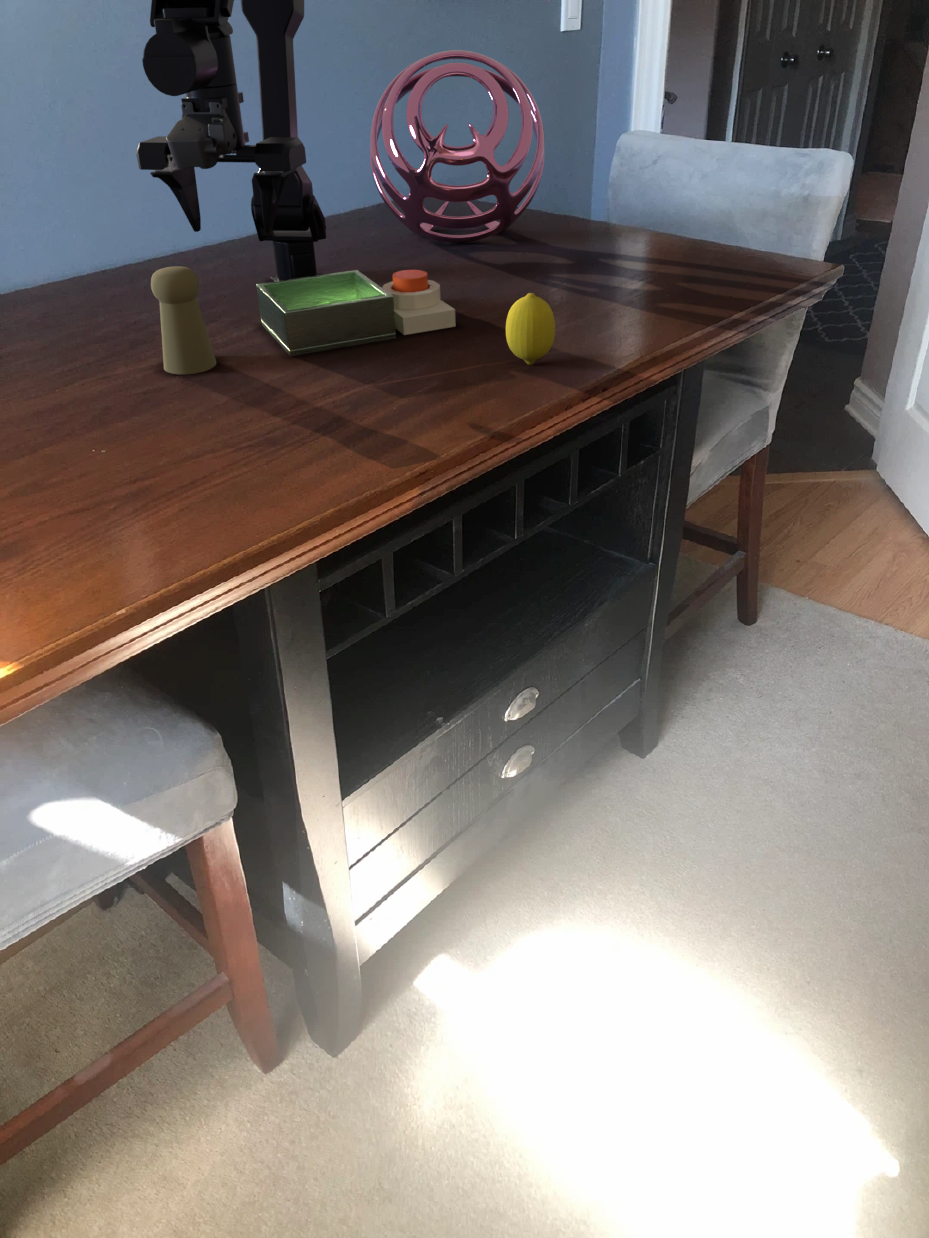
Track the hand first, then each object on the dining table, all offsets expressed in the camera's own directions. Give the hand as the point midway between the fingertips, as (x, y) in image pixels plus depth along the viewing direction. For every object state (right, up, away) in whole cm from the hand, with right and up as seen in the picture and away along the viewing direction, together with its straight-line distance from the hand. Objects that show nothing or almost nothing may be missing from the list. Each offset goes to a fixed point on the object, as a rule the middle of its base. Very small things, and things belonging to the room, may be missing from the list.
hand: (232, 232), depth 119 cm
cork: (-4, -17, -3) cm, 18 cm away
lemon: (+35, -18, -6) cm, 40 cm away
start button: (+21, -5, +7) cm, 23 cm away
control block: (+21, -8, +9) cm, 24 cm away
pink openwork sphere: (+27, +16, +44) cm, 54 cm away
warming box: (+11, -10, +5) cm, 16 cm away
